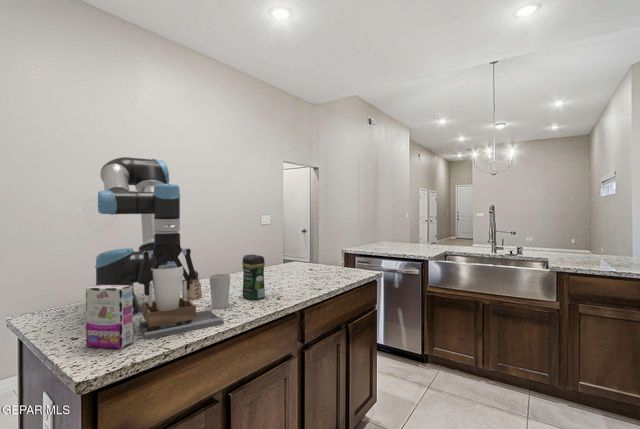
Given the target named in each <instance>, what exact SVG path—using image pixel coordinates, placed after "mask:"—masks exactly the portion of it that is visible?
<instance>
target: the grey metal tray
mask: <svg viewBox="0 0 640 429" xmlns="http://www.w3.org/2000/svg"><path fill="white" fill-rule="evenodd" d="M223 318H224V317H222V316H219V317H218V315H216V314H215V313H213V308H209V309H204V310H198V311H196V319H193V320H192V322H190V323H186V322H185V321H181V322H176V323H170V324H165V325H161V327H160V328H159V329H157V330H156V329H153V327H149V326H148V324H147V323H146V321H145V320H141V321H139V323H138V327H139V330H140V332H141V334H142V335H143V338H144V340H145V341H147V340H146V339H148V340H151V338H153V339H157V338H156V337H158V338H161V337H162V336H163V337H167V336H171V335H177V334H181V333H186V332H191V331H195V330H200V329H206V328H209V327H211V328H212V327H216V326H220V325H224V324H225V323H224V319H223Z"/></svg>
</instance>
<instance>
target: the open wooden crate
mask: <svg viewBox="0 0 640 429" xmlns="http://www.w3.org/2000/svg"><path fill="white" fill-rule="evenodd" d="M196 312H197V305H195V304H194V303H193V302H192V301H191V300H188V299H187V301H184V300H182V297H180V300H179V307H178V308H176V309H172V310H166V311H161V310H157V307H156V301H152V306H151V307H150V306H149V305H148V302H146V303H145V302H144V303H142V317H143V319H144V321H146V323H147V324H148V326H149V327H153V329H156V330H157V329H159V328H160V327H161V325H165V324H170V323H176V322H181V321H185V322H186V323H190V322H192V320H193V319H196Z"/></svg>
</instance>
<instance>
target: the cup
mask: <svg viewBox="0 0 640 429" xmlns="http://www.w3.org/2000/svg"><path fill="white" fill-rule="evenodd" d="M208 278H209V286H210V296H211V297H210V298H211V309H217V310H218V309H219V310H220V309H225V308H228V307H229V300H230V299H229V297H230V285H231V283H230V282H231V274H229V273H216V274H211V275H209V276H208Z"/></svg>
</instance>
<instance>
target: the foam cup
mask: <svg viewBox="0 0 640 429" xmlns="http://www.w3.org/2000/svg"><path fill="white" fill-rule="evenodd" d="M183 267H184V265H183V266H181V267H179V268H178V267H177V265H162V266H159V267H158V269H152V268H151V270H153V278H152V281H151V282H152V289H153V294H154V299H155V302H156V307H157V310H161V311H166V310H172V309H176V308H178V307H179V300H180V298H181V293H182V280H183V277H184V276H183ZM184 268H185V267H184Z"/></svg>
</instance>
